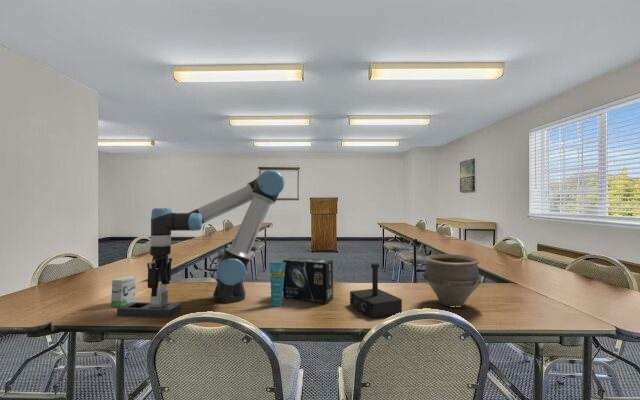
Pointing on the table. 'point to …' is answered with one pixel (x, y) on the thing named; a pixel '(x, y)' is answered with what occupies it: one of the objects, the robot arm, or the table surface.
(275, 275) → the tube
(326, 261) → the box
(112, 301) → the ink box
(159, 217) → the robot arm
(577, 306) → the table surface
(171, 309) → the dark grey slotted tray
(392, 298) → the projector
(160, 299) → the grey rectangular block
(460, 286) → the planter
